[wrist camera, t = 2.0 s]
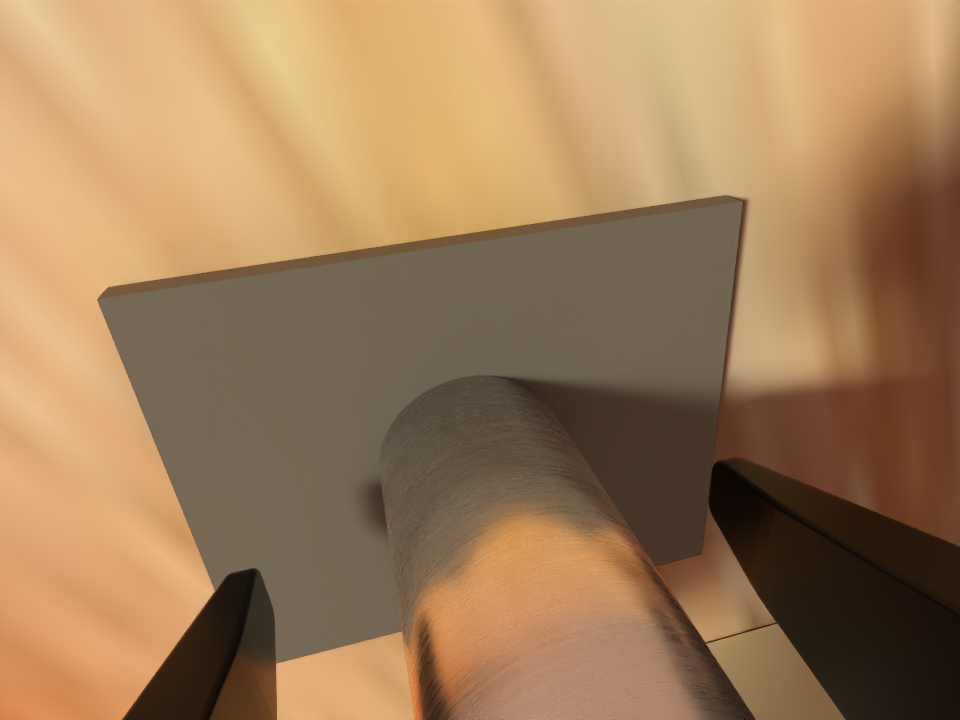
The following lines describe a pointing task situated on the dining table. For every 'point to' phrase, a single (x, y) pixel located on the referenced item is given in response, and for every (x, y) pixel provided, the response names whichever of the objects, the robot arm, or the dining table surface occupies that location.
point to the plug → (528, 573)
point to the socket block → (773, 676)
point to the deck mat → (427, 387)
